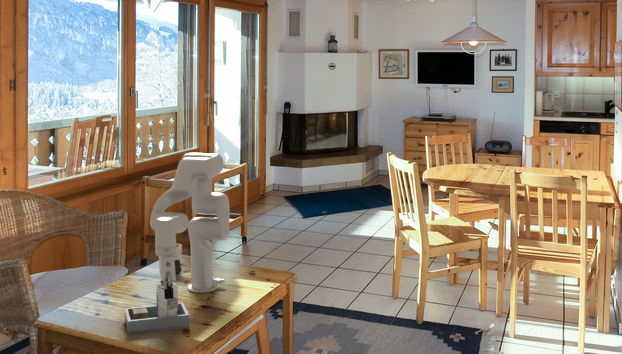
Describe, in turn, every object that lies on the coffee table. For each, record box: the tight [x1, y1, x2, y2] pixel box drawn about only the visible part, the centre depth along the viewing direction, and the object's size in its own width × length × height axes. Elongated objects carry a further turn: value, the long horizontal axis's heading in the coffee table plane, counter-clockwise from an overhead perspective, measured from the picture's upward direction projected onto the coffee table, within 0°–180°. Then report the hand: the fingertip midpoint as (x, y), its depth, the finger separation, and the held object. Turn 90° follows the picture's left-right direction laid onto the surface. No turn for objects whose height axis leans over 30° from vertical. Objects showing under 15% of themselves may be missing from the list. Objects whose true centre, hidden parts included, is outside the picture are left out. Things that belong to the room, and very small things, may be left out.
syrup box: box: [155, 281, 179, 317], centre depth 267 cm, size 6×6×14 cm
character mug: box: [174, 243, 183, 274], centre depth 329 cm, size 11×7×13 cm, turn 33°
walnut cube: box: [133, 308, 148, 320], centre depth 264 cm, size 5×5×5 cm
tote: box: [124, 302, 190, 336], centre depth 266 cm, size 22×14×5 cm, turn 109°
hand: (167, 294), depth 266 cm, fingers open, 9 cm apart
